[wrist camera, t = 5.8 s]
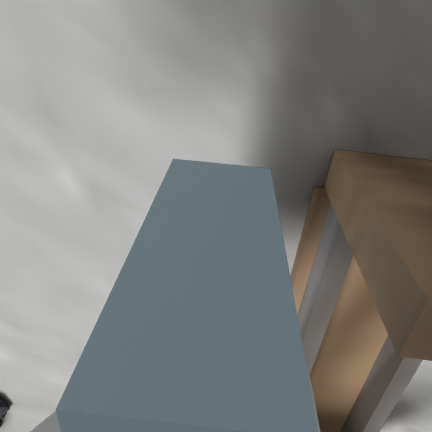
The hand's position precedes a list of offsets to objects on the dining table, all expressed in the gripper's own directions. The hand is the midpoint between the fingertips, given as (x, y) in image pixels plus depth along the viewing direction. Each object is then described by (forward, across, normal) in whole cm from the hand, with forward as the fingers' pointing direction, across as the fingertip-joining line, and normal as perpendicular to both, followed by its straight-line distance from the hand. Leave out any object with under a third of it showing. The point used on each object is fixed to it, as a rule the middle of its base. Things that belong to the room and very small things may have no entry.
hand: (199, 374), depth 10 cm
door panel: (+4, 0, 0) cm, 4 cm away
